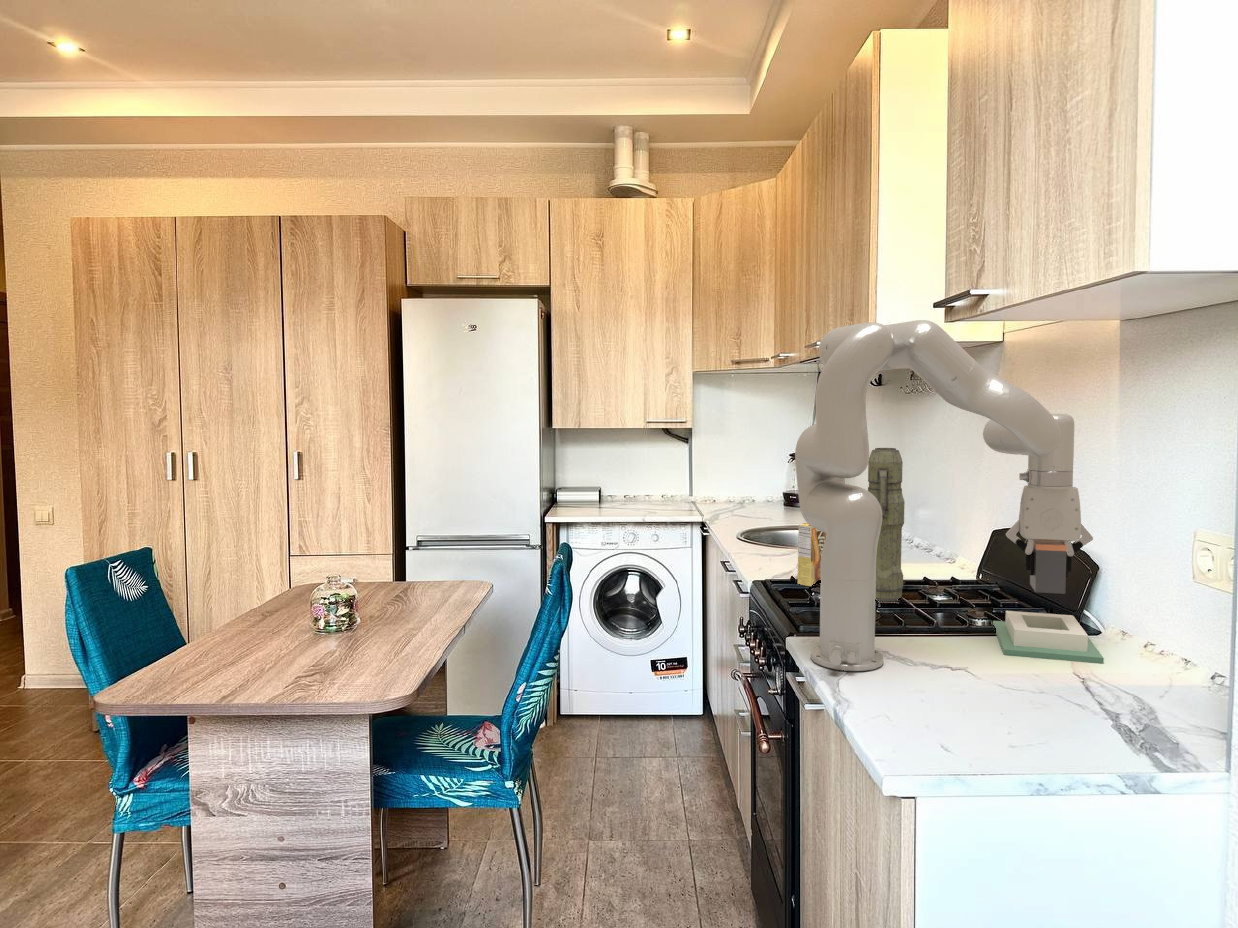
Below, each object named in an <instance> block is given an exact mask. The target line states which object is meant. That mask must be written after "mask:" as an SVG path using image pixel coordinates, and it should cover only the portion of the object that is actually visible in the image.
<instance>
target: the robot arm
mask: <svg viewBox="0 0 1238 928" xmlns="http://www.w3.org/2000/svg"><path fill="white" fill-rule="evenodd" d="M818 355H819V356H818V357H819V358H820V362H821V363H822V365H823V368H822V370H821V373H820V374H819V377H818V380H817V384H816V388H815V396H814V397H815V401H814V402H815V424H812V425H810V426H808V427H807V428H806V429H804V430H803V431H802V432H801V434H800V435H799V437H798V439H797V441H796V446H795V450H794V451H795V453H794V461H795V463H794V464H795V472H796V483H797V494H798V502H799V508H800V512H801V515H802V518H803V519H804V521H805V523H808V524H809V525H810V526H812V527H813V528H815V529H817V530H820V531H822V532H825V533H827V536H826V540H825V543H824V547H823V550H822V555H821V566H820V574H821V583H820V588H819V589H820V591H819V592H820V593H819V594H820V595H819V599H820V601H819V645H818V646H815V647H813V648H812V649H811V651H810V658H811V660H812V661H813V662H814V663H815V664H817V665H819V666H822V667H824V668H827V669H831V670H837V671H843V670H844V671H846V672H847V671H848V672H865V671H873V670H876V669H878V668H881V667H882V666H883V665H884V659H885V657H884V655H883V654H882V653H881V652H880V651H878V650H877V649H875V646H876V645H875V644H876V639H875V638H876V601H875V598H876V555H877V545H878V539H879V535H880V530H881V525H882V510H881V506H880V504H879V502H878V500H877V499H876V497H875V496H874V495H873V494H871V493H870V492H869V491H868V489H865V488H863V487H860V486H856V485H852V484H847V483H846V479H853V478H856V477H858V476H860V475H862V474H863V473H864V472H865V471H866V469H867V467H868V463H869V457H870V444H869V443H870V441H869V434H868V432H869V431H868V423H867V422H868V421H867V411H866V410H867V409H866V408H867V407H866V406H867V405H866V403H867V402H866V401H867V399H866V398H867V392H868V388H869V386H870V383H871V382H872V380H873V378H874V377H875V375H876V374H877V373H878V372H879V371H888V370H898V369H910V370H911V371H913V372H914V373H915V374H916V375H917V376H918V377H919V378H920V379H921V380H923V382H925V383H926V384H927V385H928V386H929V387H930V388H931V389H932V390H933V391H934V392H935V393H937V395H939V397H941V398H942V400H944V401H945V402H947V404H950V405H951V406H953V407H955V408H958V409H961V410H963V411H965V412H970V413H973V414H976V415H979V416H982V417H984V418H986V419H989V420H988V421H987V423H986V424H985V425H984V427H983V431H982V436H983V441H984V442H985V444H986V446H988V448H990V449H991V450H993V451H995V452H998V453H1000V454H1007V455H1008V454H1009V455H1021V456H1027V458H1028V460H1027V470H1026V471H1025V472H1020V473H1018V475H1019V477H1018V479H1019V480H1020V481H1025V482H1026V483H1027V485H1024V486H1023V489H1022V491H1021V492H1022V493H1021V498H1020V506H1019V515H1018V520H1017V521H1016V522H1015V523H1014V524H1013V525H1012V526H1011V527H1010V528H1009V529H1008V530H1007V531H1006V533H1005V536H1006V537H1007V539H1009V540H1010V541H1011V542H1013V543H1014V544H1016V545H1017V547H1018V548H1020V549H1021V550H1022V552H1024V570H1025V571H1027V572H1028V574H1029V576H1030V575H1032V576H1033V575H1034V559H1035V556H1034V554H1033V548H1034V545H1035V542H1036V540H1040V541H1062V542H1063V543H1064V544H1065V545H1066V546H1067V552H1066V578H1069V577H1068V576H1069V575H1068V574H1069V573H1072V558H1073V556H1074V555H1075V554H1076V553H1077V552H1078V551H1079V550H1080V549H1082V548H1083V547H1084V546H1085V545H1087V544H1089V543H1091V542H1092V541H1093V540H1094V537H1093V536H1092V534H1091V533H1090V532H1089V531H1088V530H1087V528H1085V526H1084V525H1083V524H1082V515H1081V513H1082V511H1081V499H1080V493H1079V488H1078V487H1075V486H1073V485H1074V457H1075V456H1074V455H1075V454H1074V452H1075V419H1074V418H1073V416H1071V415H1070V414H1066V413H1051V412H1049V410H1048V409H1047V408H1046V407H1045V406H1044V405H1043V404H1042V403H1041V402H1039V400H1037V399H1036V398H1035V397H1034V396H1032V395H1031V394H1030V393H1028V392H1027V391H1026V390H1024V389H1022V388H1020V387H1018V386H1017V385H1015V384H1013V383H1011V382H1010V381H1008V380H1006V379H1004V378H1002V377H1000V376H999V375H997V374H995V373H994V372H991V371H988V370H987V369H986V368H984V367H983V366H982V365H980V364H979V362H977V361H976V360H975V359H974V358H973V357H972V356H971V355H970V354H969V353H968V352H967V351H966V350H965V349H964V348H963V347H961V345H960V344H959V343H958V342H957V341H955V340H954V338H952V337H951V335H949V334H948V333H947V332H946V330H944V328H942V327H941V326H939V324H937V323H935V322H933V321H932V320H926V319H919V320H911V321H910V320H909V321H903V322H899V323H892V324H882V323H879V322H873V321H872V322H863V323H855V324H851V325H845V326H840V327H836V328H833V329H830V331H828V332H827V333H826V334H825V335H824V336H823V337H822V338H821V341H820V342H819V347H818ZM1018 533H1019V534H1020V536H1021V537H1022V538H1023V539H1025V541H1024V540H1022V539H1021V538H1020V537H1019V536H1018V535H1017V534H1018Z"/></svg>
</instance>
